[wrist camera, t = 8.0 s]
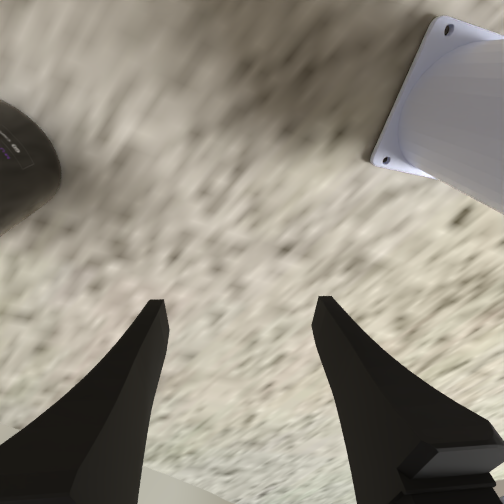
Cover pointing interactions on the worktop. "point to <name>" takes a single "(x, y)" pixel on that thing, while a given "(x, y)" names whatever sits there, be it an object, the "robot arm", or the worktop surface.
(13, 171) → the supplement bottle
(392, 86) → the worktop surface
